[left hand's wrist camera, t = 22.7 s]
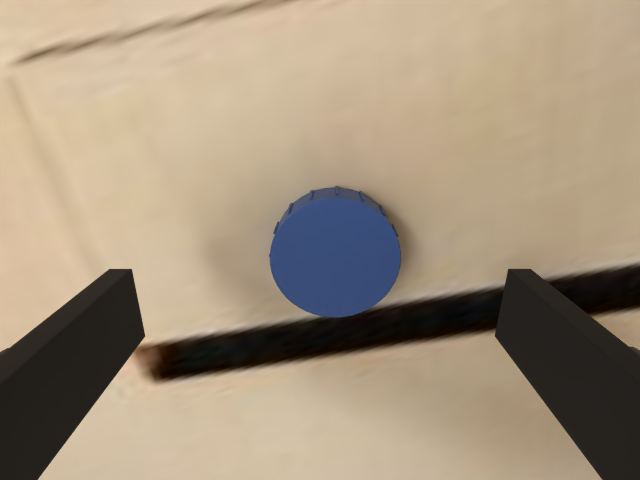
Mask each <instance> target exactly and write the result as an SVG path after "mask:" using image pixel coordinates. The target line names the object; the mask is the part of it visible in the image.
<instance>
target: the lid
mask: <svg viewBox="0 0 640 480" xmlns="http://www.w3.org/2000/svg"><path fill="white" fill-rule="evenodd" d="M273 234H275V236H274V239H273V242H272V246H271V251H270V255H269V256H270V265H271V271H272V274H273V277H274V280H275V282H276V284H277V286H278V287H279V289H280V290H281V292H282V293H283V294H284V295H285V296H286V298H287V299H289V300H290V301H291V302H292V303H293V304H295V305H296V306H298V307H299V308H301V309H303V310H305V311H307V312H309V313H312V314H315V315H319V316H325V317H346V316H351V315H355V314H358V313H361V312H363V311H365V310H367V309H369V308H371V307H372V306H374V305H375V304H377V303H378V302H379V301H381V300H382V299H383V298H384V297H385V296H386V295H387V293H388V292H389V291H390V289H391V288H392V286H393V284H394V283H395V281H396V278H397V276H398V273H399V269H400V262H401V251H400V246H399V242H398V239H397V237H398V234H397V232H396V230H395V228H394V226H393V224H392V225H391V224H390V222H389V220H388V218H387V216H386V214H385V212H384V210H383V208H382V206H381V205H379V206H378V205H377V204H376V203H375V202H374V201H373V200H372V199H370V198H369V197H367V196H365V195H363V193H362V192H361V191H360V192H357V191H353V190H350V189H344V188H338V186H335V188H325V189H320V190H316V191H314V192H313V190H311V191H310V193H308V194H307V195H305V196H303V197H301V198H300V199H298V200H297V201H296V202H294V203H293V204H292V203H291V204H290V206H289V208H288V210H287V211H286V212H285V214H284V215H283V217H282V219H281V221H280V222H278V223H277V225H276V228H275V230H274V233H273Z"/></svg>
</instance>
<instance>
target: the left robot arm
mask: <svg viewBox="0 0 640 480" xmlns="http://www.w3.org/2000/svg"><path fill="white" fill-rule="evenodd" d="M144 337H145V333H144V328H143V323H142V318H141V313H140V308H139V303H138V298H137V293H136V288H135V283H134V278H133V273H132V269H109V270H108V271H106V272H105V273H104V274H103V275H101V276H100V277H99V278H98V279H96V280H95V281H94V282H93V283H91V284H90V285H89V286H87V287H86V288H85V289H84V290H82V291H81V292H80V293H79V294H77V295H76V296H75V297H74V298H72V299H71V300H70V301H69V302H67V303H66V304H65V305H63V306H62V307H61V308H60V309H58V310H57V311H56V312H55V313H53V314H52V315H51V316H50V317H48V318H47V319H46V320H44V321H43V322H42V323H41V324H39V325H38V326H37V327H36V328H34V329H33V330H32V331H31V332H29V333H28V334H27V335H25V336H24V337H23V338H22V339H20V340H19V341H18V342H17V343H15V344H14V345H13V346H12V347H10V348H7V349H5V350H3V351H1V352H0V480H38V478H39V477H40V476H41V474H42V473H43V472H44V470H45V469H46V468H47V466H48V465H49V464H50V462H51V461H52V460H53V458H54V457H55V456H56V454H57V453H58V452H59V450H60V449H61V448H62V446H63V445H64V444H65V442H66V441H67V440H68V438H69V437H70V436H71V434H72V433H73V432H74V430H75V429H76V428H77V426H78V425H79V424H80V422H81V421H82V420H83V418H84V417H85V416H86V414H87V413H88V412H89V410H90V409H91V408H92V406H93V405H94V404H95V402H96V401H97V400H98V398H99V397H100V396H101V394H102V393H103V392H104V390H105V389H106V388H107V386H108V385H109V384H110V382H111V381H112V380H113V378H114V377H115V376H116V374H117V373H118V372H119V370H120V369H121V368H122V366H123V365H124V364H125V362H126V361H127V360H128V358H129V357H130V356H131V354H132V353H133V352H134V350H135V349H136V348H137V346H138V345H139V344H140V342H141V341H142V340H143V338H144ZM495 337H496V338H497V340H498V341H499V342H500V344H501V345H502V346H503V348H504V349H505V350H506V352H507V353H508V354H509V356H510V357H511V358H512V360H513V361H514V362H515V364H516V365H517V366H518V368H519V369H520V370H521V372H522V373H523V374H524V376H525V377H526V378H527V380H528V381H529V382H530V384H531V385H532V386H533V388H534V389H535V390H536V392H537V393H538V394H539V396H540V397H541V398H542V400H543V401H544V402H545V404H546V405H547V406H548V408H549V409H550V410H551V412H552V413H553V414H554V416H555V417H556V418H557V420H558V421H559V422H560V424H561V425H562V426H563V428H564V429H565V430H566V432H567V433H568V434H569V436H570V437H571V438H572V440H573V441H574V442H575V444H576V445H577V446H578V448H579V449H580V450H581V452H582V453H583V454H584V456H585V457H586V458H587V460H588V461H589V462H590V464H591V465H592V466H593V468H594V469H595V470H596V472H597V473H598V474H599V476H600V477H601V478H602V480H640V350H638V349H636V348H634V347H628V346H627V345H626V344H625V343H623V342H622V341H621V340H620V339H618V338H617V337H616V336H615V335H613V334H612V333H611V332H609V331H608V330H607V329H606V328H604V327H603V326H602V325H601V324H599V323H598V322H597V321H596V320H594V319H593V318H592V317H590V316H589V315H588V314H587V313H585V312H584V311H583V310H582V309H580V308H579V307H578V306H577V305H575V304H574V303H573V302H571V301H570V300H569V299H568V298H566V297H565V296H564V295H563V294H561V293H560V292H559V291H558V290H556V289H555V288H554V287H553V286H551V285H550V284H549V283H547V282H546V281H545V280H544V279H542V278H541V277H540V276H539V275H537V274H536V273H535V272H534V271H532V270H531V269H508V273H507V278H506V283H505V288H504V293H503V298H502V303H501V308H500V313H499V318H498V323H497V328H496V333H495Z"/></svg>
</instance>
